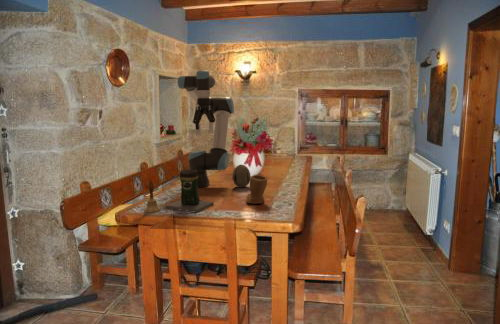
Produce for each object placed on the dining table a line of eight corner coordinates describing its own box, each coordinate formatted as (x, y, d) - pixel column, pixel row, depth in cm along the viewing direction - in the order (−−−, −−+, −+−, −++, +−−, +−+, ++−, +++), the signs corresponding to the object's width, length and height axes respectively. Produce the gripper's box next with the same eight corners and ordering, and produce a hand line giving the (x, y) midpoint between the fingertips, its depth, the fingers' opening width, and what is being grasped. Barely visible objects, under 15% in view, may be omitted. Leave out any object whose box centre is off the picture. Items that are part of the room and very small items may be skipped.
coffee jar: (201, 201, 210) (199, 168, 207) (196, 205, 202) (195, 171, 199) (184, 201, 211) (182, 168, 208) (179, 205, 204) (177, 170, 201)
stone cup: (267, 205, 206) (266, 178, 204) (245, 205, 207) (244, 178, 204) (268, 198, 221) (267, 172, 218) (247, 198, 222) (247, 172, 219)
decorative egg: (254, 186, 251) (254, 164, 248) (241, 190, 242) (241, 166, 240) (241, 184, 259) (241, 162, 256) (229, 187, 250) (228, 164, 248)
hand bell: (145, 208, 204) (143, 179, 202) (161, 207, 205) (159, 178, 202) (142, 212, 196) (140, 182, 194) (159, 212, 197) (157, 181, 194)
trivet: (165, 208, 204) (165, 205, 204) (183, 201, 218) (183, 198, 218) (196, 212, 195) (196, 209, 195) (213, 204, 209) (213, 202, 209)
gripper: (196, 97, 210) (198, 136, 214) (220, 97, 232) (221, 132, 236) (185, 98, 214) (187, 135, 217) (209, 97, 236) (210, 132, 239)
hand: (204, 134), depth 226 cm, fingers open, 13 cm apart
